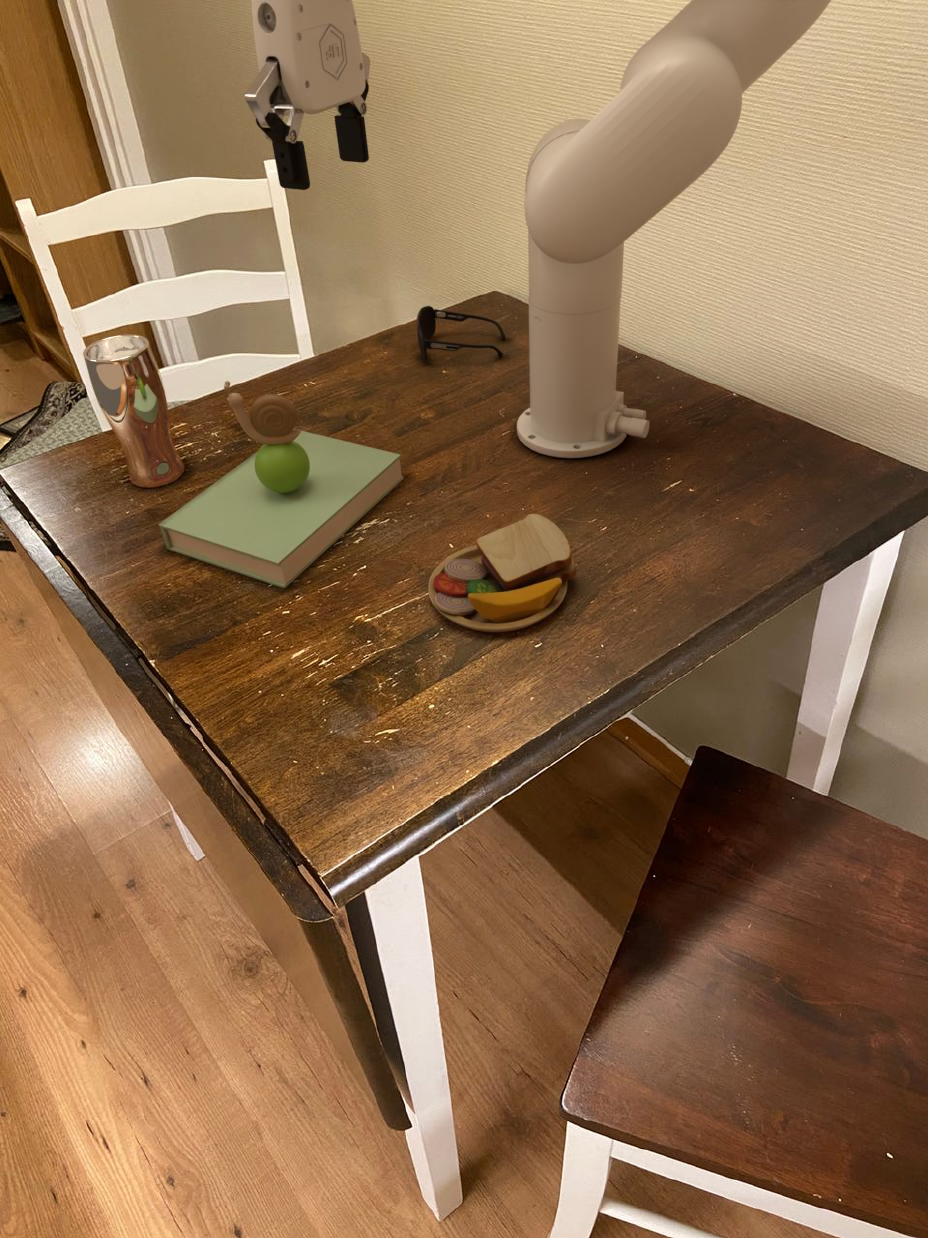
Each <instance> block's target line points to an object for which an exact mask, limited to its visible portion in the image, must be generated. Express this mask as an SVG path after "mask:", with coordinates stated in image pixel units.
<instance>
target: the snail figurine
mask: <svg viewBox="0 0 928 1238" xmlns="http://www.w3.org/2000/svg"><path fill="white" fill-rule="evenodd" d="M230 387H231V382H230V381H229V380H226V381H224V384H223V389H224V390H225V391H226V393H227V397H226V398H227V399H226V400H227V401H228V405H229V406H230V407H231V409H232V411H233V413H234V415H235V418H236V419H237V421H238V424H239V425H240V426H241V428H242V430H243V431H244V433H245V434H246V435H247V436H249V438H250V439H252V440H254V441H256V442H259V443H262V444H263V445H261V446H260V448H258V451H256V452H257V455H256V457H255V472H256V475H257V477H258V479H259V480H260V482H261V483H262V484H263V485H264V486H265V487H266V488H268V489H269V490H271V491H274V492H278V493H289V492H292V491H295V490H297V489H298V488H300V487H301V486H302V485H303V484H304V483H305V481H306V479H307V477H308V475H309V471H310V462H309V458H308V455H307V453H306V452H305V450H304V449H303V448H302V447H301V446H300V445H299V444H298V443H296V442H295V441H293V440H295V439H296V438H297V437H298V435H299V434H300V432H301V431H302V430H301V429H300V428H296V426H297V423H298V419H299V418H298V417H299V416H298V411H297V409H296V407H295V405H294V404H293V403H292V401H291V400H290V399H288V398H287V397H285V396H283V395H280V394H276V393H268V394H263V395H261V396H260V397H258V398H257V399H255V401H254V402H253V403H252V405H251V407H250V409H249V413H248V412H247V409H246V408H245V405H244V399H243V396H242V395H241V394H240V393H238V392H231V391H230ZM293 429H295V430H293Z"/></svg>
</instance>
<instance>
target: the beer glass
mask: <svg viewBox="0 0 928 1238" xmlns="http://www.w3.org/2000/svg"><path fill="white" fill-rule="evenodd" d="M82 357H83V359H84V362H85V366H86V369H87V374H88V377H89V381H90V384H91V387H92V390H93V393H94V396H95V398H96V401H97V403H98V405H99V408H100V409H101V411H102V414H103V416H104V417H105V419H106V421H107V423H108V424H109V426H110V428H111V429H112V431H113V433H114V435H115V436H116V438H117V440H118V442H119V444H120V446H121V448H122V450H123V452H124V455H125V459H126V464H127V465H126V466H127V473H128V477H129V480H130V482H131V484H133V485H134V486H136V487H139V488H143V489H152V488H159V487H163V486H167V485H169V484H172V483H173V482H175V481H176V480H178V479H179V478H180V477H181V476H182V475H183V474H184V472H185V464H184V462H183V460H182V458H181V456H180V454H179V453H178V450H177V448H176V446H175V444H174V441H173V436H172V432H171V426H170V425H171V424H170V417H169V415H170V414H169V409H168V408H169V407H168V400H167V394H166V388H165V385H164V382H163V378H162V374H161V372H160V369H159V365H158V364H157V363H158V362H157V361H156V358H155V355H154V353H153V351H152V348H151V346H150V342H149V340H148V338H146V337H145V336H144V335H143V336H142V335H138V334H131V333H129V334H128V333H127V334H117V335H111V336H107V337H105V338H101V339H99V340H95V341H94V342H92V343H90V344H89V345H87V346H86V347H85V348H84V349H83V351H82Z"/></svg>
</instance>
